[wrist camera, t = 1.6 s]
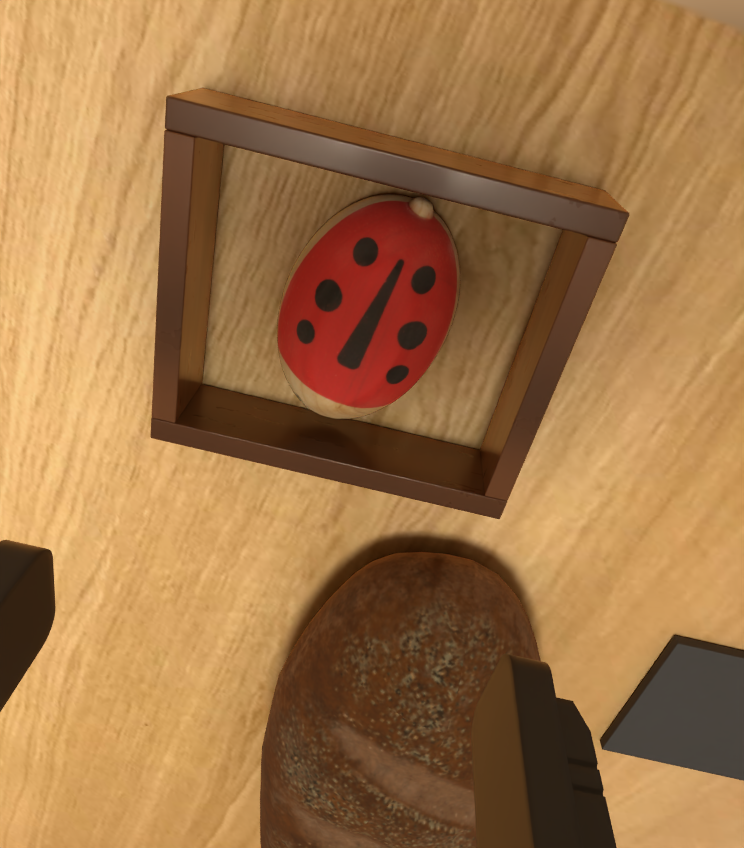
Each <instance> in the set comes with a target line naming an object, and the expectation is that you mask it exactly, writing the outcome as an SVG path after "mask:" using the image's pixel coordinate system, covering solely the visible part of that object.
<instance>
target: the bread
mask: <svg viewBox="0 0 744 848" xmlns="http://www.w3.org/2000/svg"><path fill="white" fill-rule="evenodd" d="M504 654H510V655H515V656H519V657H524V658H528V659H532V660H537V661H540V656H539V652H538V648H537V643H536V640H535V637H534V634H533V631H532V628H531V625H530V622H529V619H528V617H527V615H526V613H525V611H524V609H523V607H522V605H521V603H520V601H519V599H518V597H517V596H516V594H515V593H514V592H513V591H512V590H511V589H510V587H509V586H508V585H507V584H506V583H505V582H504V581H503V579H502V578H501V577H500V576H499V575H498V574H496V573H495V572H493V571H491V570H489V569H488V568H486V567H484V566H483V565H481V564H479V563H477V562H476V561H474V560H471V559H467V558H462V557H458V556H454V555H449V554H442V553H429V552H408V553H394V554H391V555H388V556H386V557H383V558H380V559H377V560H374V561H372V562H370V563H369V564H367V565H366V566H365V567H363V568H362V569H360V570H359V571H357V572H356V573H354V574H353V575H352V576H351V577H350V578H349V579H348V580H347V581H346V582H345V583H344V584H343V585H341V586H340V588H339V589H338V590H337V591H336V592H335V593H334V594H333V595H332V596H331V597H330V598H329V599H328V600H327V601H326V603H325V604H324V605H323V606H322V608H321V609H320V610H319V611H318V612H317V614H316V615H315V616H314V618H313V619H312V620H311V622H310V623H309V624H308V625H307V627H306V628H305V630H304V632H303V633H302V635H301V637H300V638H299V640H298V641H297V643H296V645H295V646H294V648H293V650H292V651H291V653H290V655H289V656H288V658H287V660H286V662H285V664H284V666H283V668H282V670H281V672H280V675H279V678H278V682H277V685H276V689H275V692H274V697H273V701H272V705H271V710H270V714H269V718H268V723H267V727H266V732H265V736H264V741H263V746H262V759H261V791H260V836H261V848H477V840H476V820H475V801H474V782H473V763H472V744H471V732H472V722H473V717H474V712H475V709H476V706H477V703H478V701H479V699H480V697H481V695H482V693H483V691H484V689H485V687H486V685H487V683H488V681H489V679H490V677H491V675H492V673H493V671H494V669H495V668H496V666H497V664H498V662H499V660H500V658H501V657H502V655H504Z"/></svg>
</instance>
